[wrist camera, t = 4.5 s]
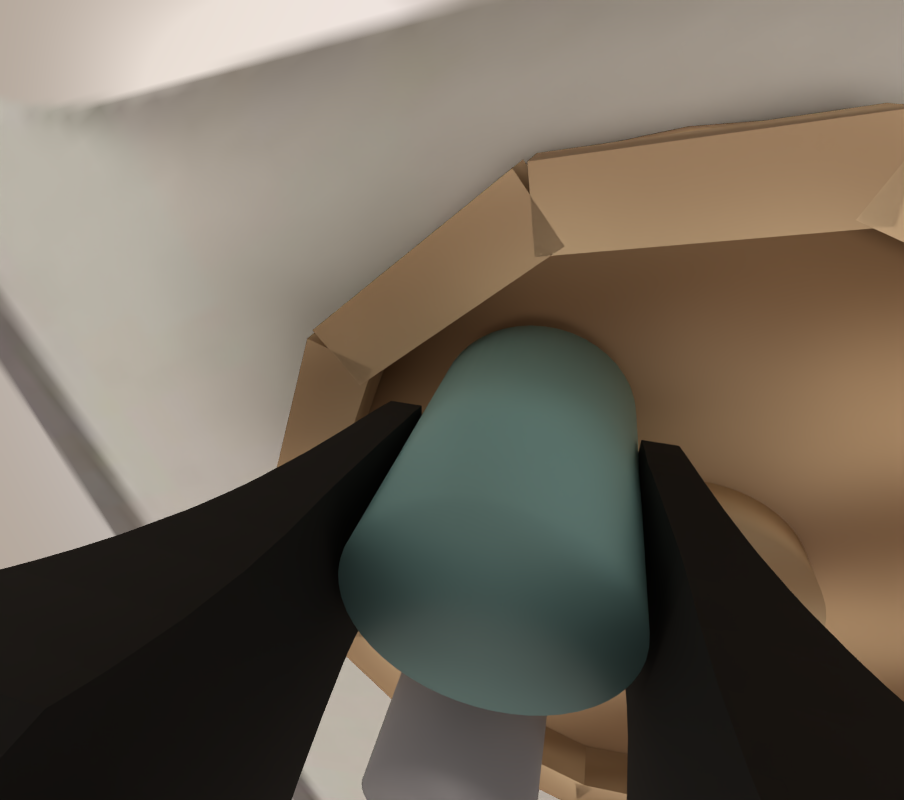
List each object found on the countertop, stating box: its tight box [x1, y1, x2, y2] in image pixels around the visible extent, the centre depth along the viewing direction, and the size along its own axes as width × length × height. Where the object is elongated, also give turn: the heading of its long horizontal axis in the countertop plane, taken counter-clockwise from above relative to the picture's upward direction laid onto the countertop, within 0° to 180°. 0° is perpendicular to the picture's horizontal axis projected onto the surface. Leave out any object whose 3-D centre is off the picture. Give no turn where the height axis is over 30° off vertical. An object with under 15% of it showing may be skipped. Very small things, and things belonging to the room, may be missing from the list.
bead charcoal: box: [362, 672, 547, 800], centre depth 14 cm, size 4×4×5 cm
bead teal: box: [338, 325, 650, 716], centre depth 9 cm, size 4×4×5 cm
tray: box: [277, 103, 904, 800], centre depth 13 cm, size 20×20×2 cm
